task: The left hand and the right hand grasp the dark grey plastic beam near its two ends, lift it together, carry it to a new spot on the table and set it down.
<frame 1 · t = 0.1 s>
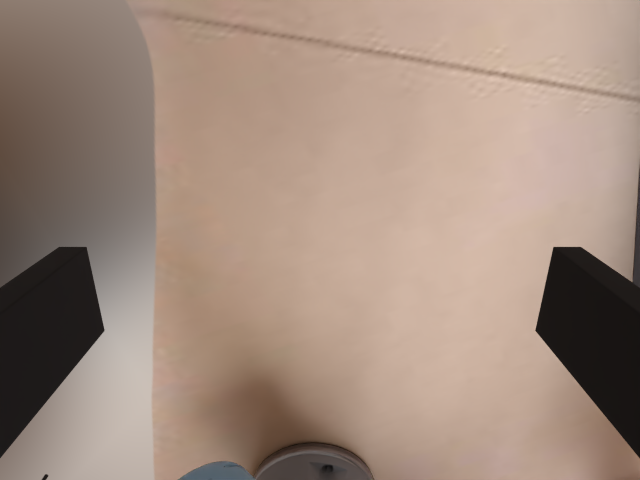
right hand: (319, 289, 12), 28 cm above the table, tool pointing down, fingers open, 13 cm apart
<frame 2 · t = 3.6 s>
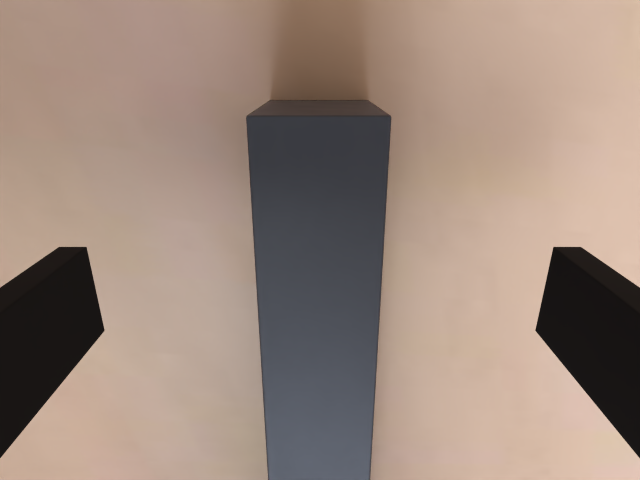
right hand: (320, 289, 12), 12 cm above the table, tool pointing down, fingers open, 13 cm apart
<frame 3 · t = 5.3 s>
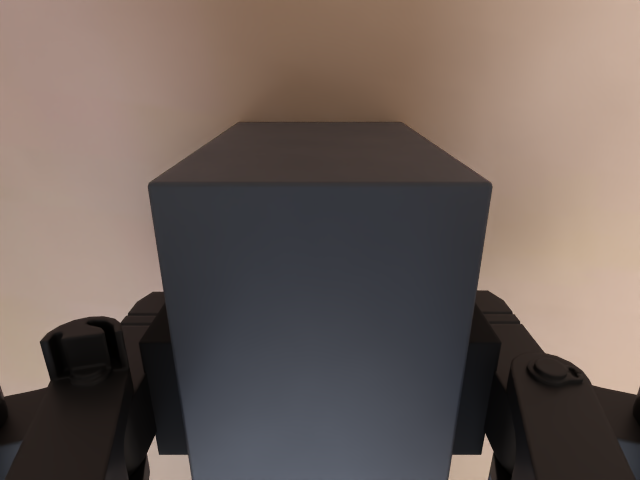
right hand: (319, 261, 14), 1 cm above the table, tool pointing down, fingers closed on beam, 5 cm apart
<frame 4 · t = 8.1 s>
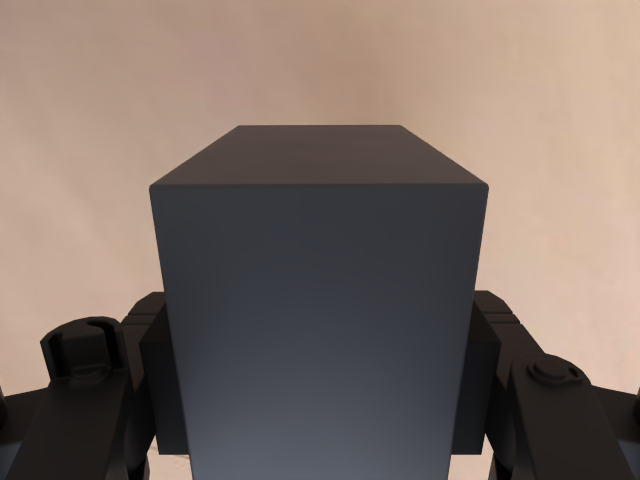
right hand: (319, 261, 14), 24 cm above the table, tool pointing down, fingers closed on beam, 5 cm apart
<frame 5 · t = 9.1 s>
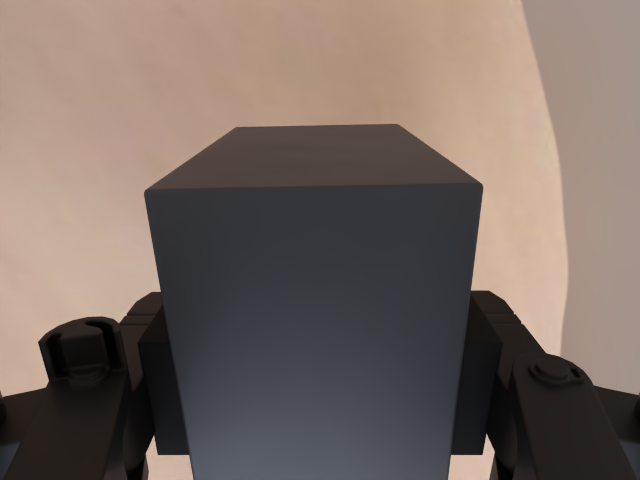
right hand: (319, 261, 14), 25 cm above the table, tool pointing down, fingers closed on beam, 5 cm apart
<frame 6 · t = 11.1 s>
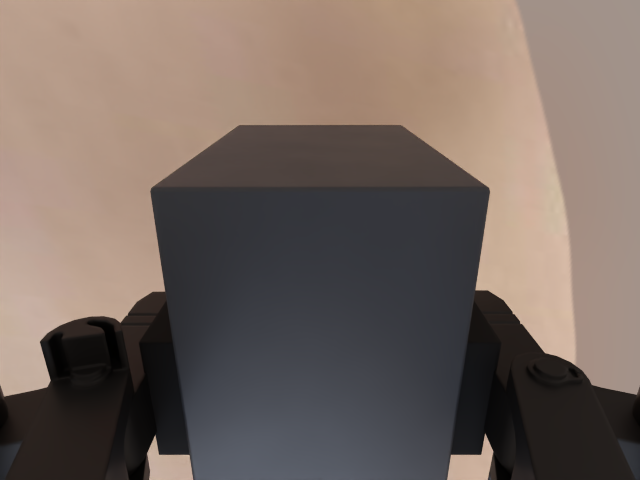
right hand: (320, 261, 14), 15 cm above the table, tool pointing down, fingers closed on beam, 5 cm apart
when the left hand's fingers open (2 cm above the table, at t = 12.9 s): beam drops 2 cm, on the table.
when the right hand's fingers open (2 cm above the table, at t = 13.0 s): beam drops 2 cm, on the table.
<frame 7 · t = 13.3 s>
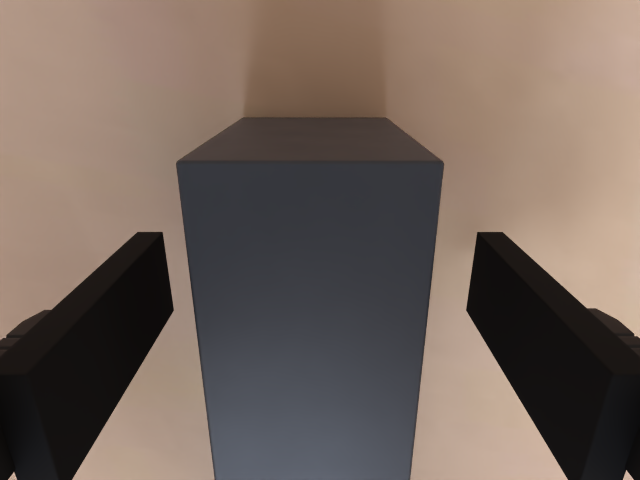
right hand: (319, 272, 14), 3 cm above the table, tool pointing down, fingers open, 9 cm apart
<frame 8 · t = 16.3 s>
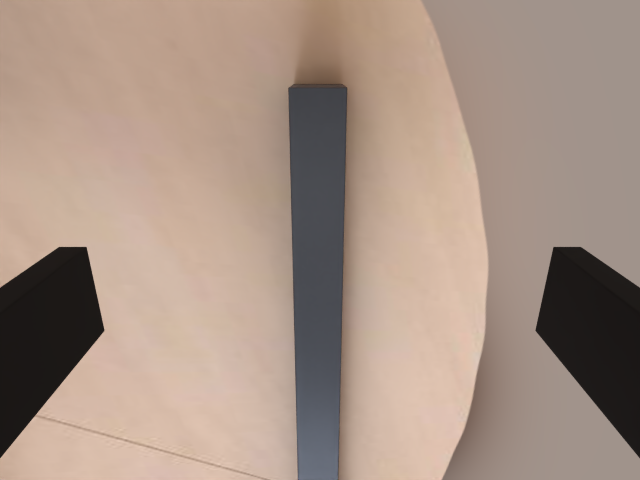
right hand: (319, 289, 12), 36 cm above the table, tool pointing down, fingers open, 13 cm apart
beam: (318, 383, 58), on the table
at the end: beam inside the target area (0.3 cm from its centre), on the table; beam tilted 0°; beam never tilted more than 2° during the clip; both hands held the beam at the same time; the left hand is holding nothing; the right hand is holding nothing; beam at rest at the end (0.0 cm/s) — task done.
